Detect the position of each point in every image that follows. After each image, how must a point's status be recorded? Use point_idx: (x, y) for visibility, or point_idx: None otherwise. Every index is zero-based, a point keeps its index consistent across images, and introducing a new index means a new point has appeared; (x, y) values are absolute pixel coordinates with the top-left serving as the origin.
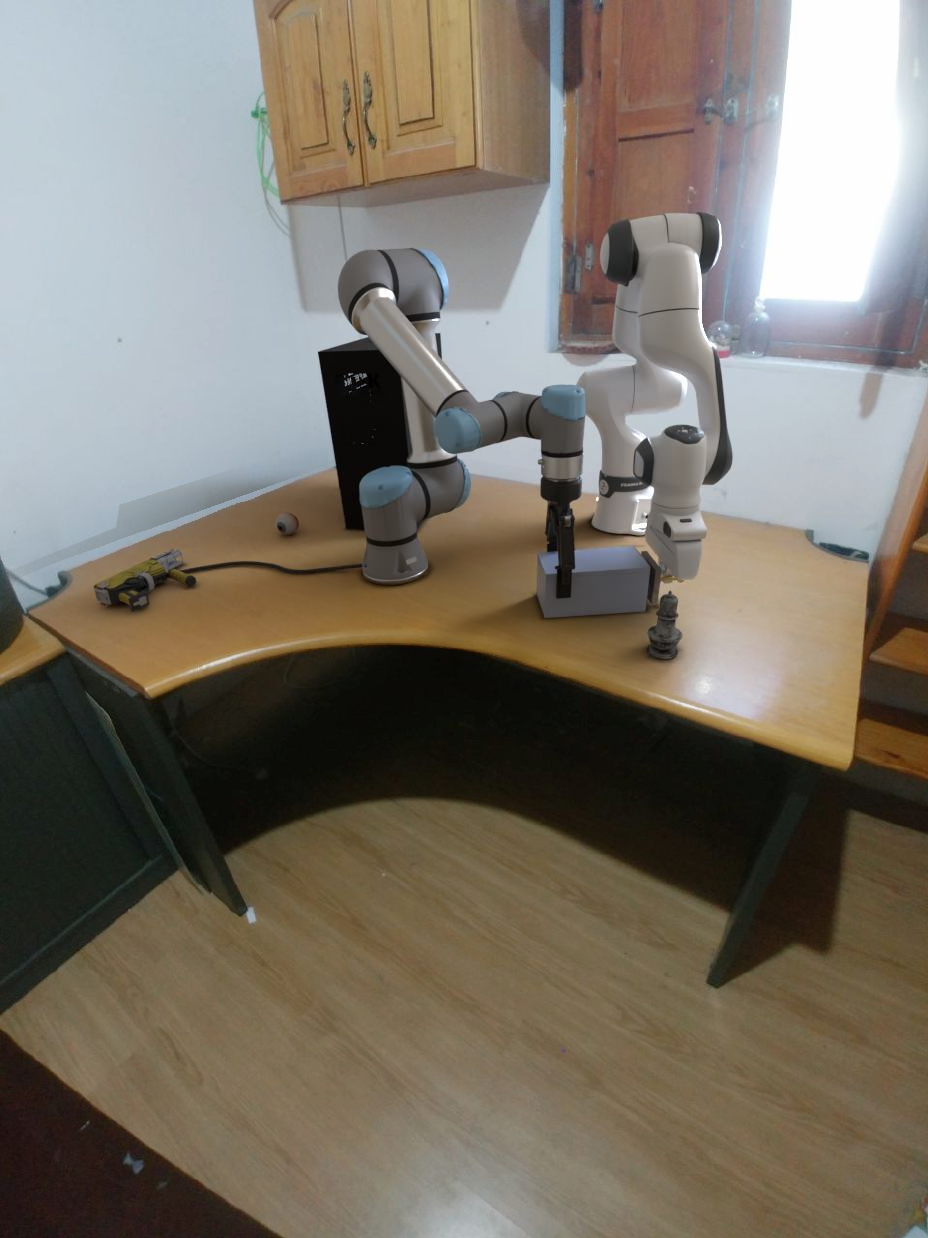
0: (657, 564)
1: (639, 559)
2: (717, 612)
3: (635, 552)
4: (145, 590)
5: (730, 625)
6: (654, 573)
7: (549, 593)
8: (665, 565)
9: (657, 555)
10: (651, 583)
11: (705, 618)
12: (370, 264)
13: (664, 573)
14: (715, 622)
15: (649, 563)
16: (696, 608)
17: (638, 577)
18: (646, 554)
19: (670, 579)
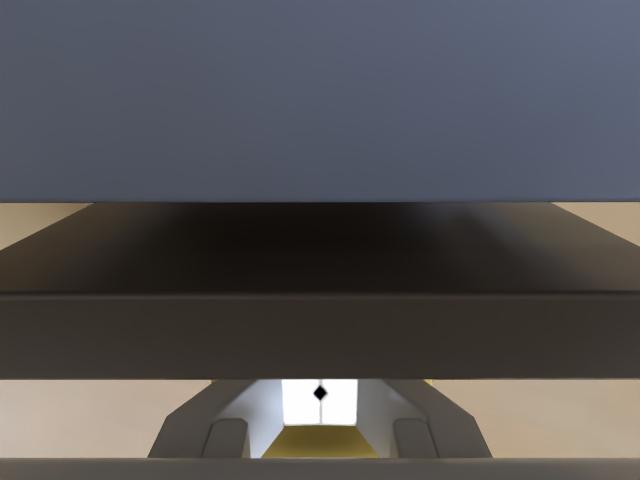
0: (142, 378)
1: (113, 61)
2: (144, 451)
3: (609, 95)
4: None
5: (26, 457)
6: (4, 259)
7: None
8: (35, 468)
9: (424, 469)
10: (158, 205)
11: (83, 391)
12: None
13: None
14: (47, 416)
15: (244, 281)
16: (184, 387)
17: None
18: (562, 334)
19: (213, 381)
